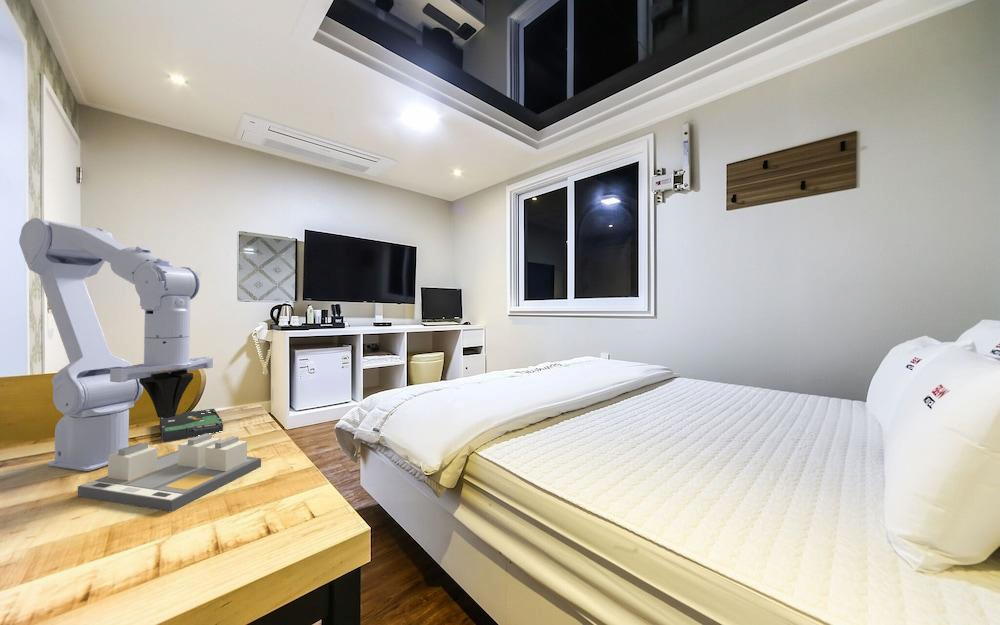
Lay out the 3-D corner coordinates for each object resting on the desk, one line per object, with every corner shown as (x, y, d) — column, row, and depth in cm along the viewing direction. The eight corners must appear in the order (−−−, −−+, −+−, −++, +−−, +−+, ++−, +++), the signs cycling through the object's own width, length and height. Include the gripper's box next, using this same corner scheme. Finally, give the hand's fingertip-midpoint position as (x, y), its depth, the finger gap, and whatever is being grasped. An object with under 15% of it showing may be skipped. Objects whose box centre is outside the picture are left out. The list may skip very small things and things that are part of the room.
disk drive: (158, 427, 86) (161, 444, 75) (158, 415, 86) (162, 431, 75) (214, 419, 93) (224, 433, 82) (214, 408, 93) (224, 421, 82)
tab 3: (205, 468, 60) (205, 442, 60) (227, 459, 64) (227, 434, 64) (225, 471, 60) (226, 445, 60) (246, 461, 64) (247, 436, 64)
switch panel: (77, 496, 54) (77, 485, 54) (183, 456, 69) (183, 448, 69) (171, 511, 51) (171, 500, 51) (261, 466, 65) (261, 457, 65)
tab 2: (177, 465, 62) (178, 439, 61) (201, 455, 65) (201, 431, 65) (197, 467, 61) (198, 441, 61) (220, 458, 65) (220, 433, 65)
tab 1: (107, 477, 57) (108, 449, 57) (137, 466, 61) (138, 440, 60) (128, 480, 56) (128, 452, 56) (157, 469, 60) (157, 443, 60)
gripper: (136, 341, 54) (135, 432, 54) (226, 335, 69) (225, 407, 69) (99, 339, 56) (98, 428, 56) (195, 333, 70) (194, 404, 70)
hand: (166, 416), depth 62 cm, fingers closed
